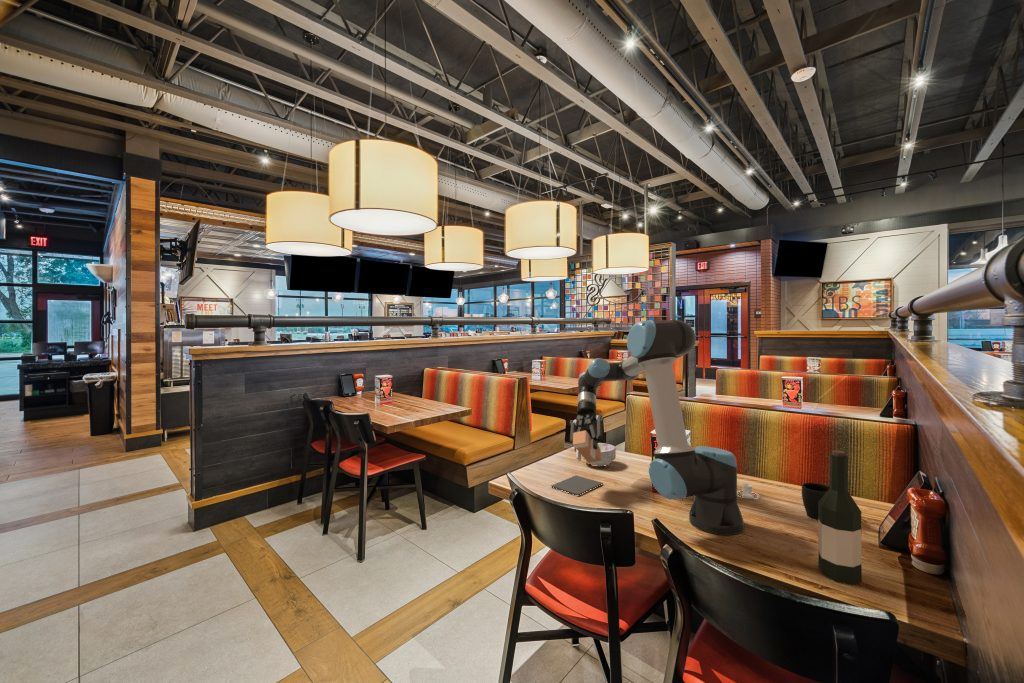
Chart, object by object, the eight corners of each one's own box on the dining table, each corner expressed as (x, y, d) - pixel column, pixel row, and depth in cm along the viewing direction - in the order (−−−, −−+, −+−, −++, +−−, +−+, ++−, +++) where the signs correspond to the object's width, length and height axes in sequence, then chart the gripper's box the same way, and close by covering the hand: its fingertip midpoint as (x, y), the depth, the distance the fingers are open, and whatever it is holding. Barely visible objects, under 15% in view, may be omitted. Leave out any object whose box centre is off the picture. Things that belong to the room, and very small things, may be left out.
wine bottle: (858, 589, 96) (858, 459, 95) (814, 574, 102) (814, 452, 101) (864, 574, 102) (863, 451, 101) (821, 561, 108) (821, 445, 107)
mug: (841, 530, 124) (841, 498, 124) (796, 515, 134) (796, 485, 134) (853, 523, 128) (853, 492, 128) (809, 509, 139) (809, 480, 138)
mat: (602, 484, 165) (602, 482, 165) (578, 496, 153) (578, 494, 153) (576, 477, 174) (576, 475, 174) (550, 487, 163) (550, 485, 163)
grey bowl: (575, 461, 194) (574, 444, 194) (602, 457, 200) (602, 440, 200) (594, 471, 180) (593, 453, 180) (623, 466, 186) (622, 448, 186)
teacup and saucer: (752, 503, 145) (752, 491, 145) (729, 496, 152) (729, 484, 152) (764, 496, 151) (764, 485, 151) (741, 490, 157) (741, 479, 157)
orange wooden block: (600, 448, 163) (585, 430, 155) (600, 460, 160) (585, 442, 152) (588, 450, 166) (573, 432, 158) (588, 462, 162) (572, 444, 154)
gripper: (611, 406, 168) (612, 459, 153) (570, 414, 177) (567, 466, 161) (604, 395, 164) (604, 449, 148) (562, 405, 172) (559, 456, 157)
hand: (585, 458), depth 155 cm, fingers closed on orange wooden block, 5 cm apart
